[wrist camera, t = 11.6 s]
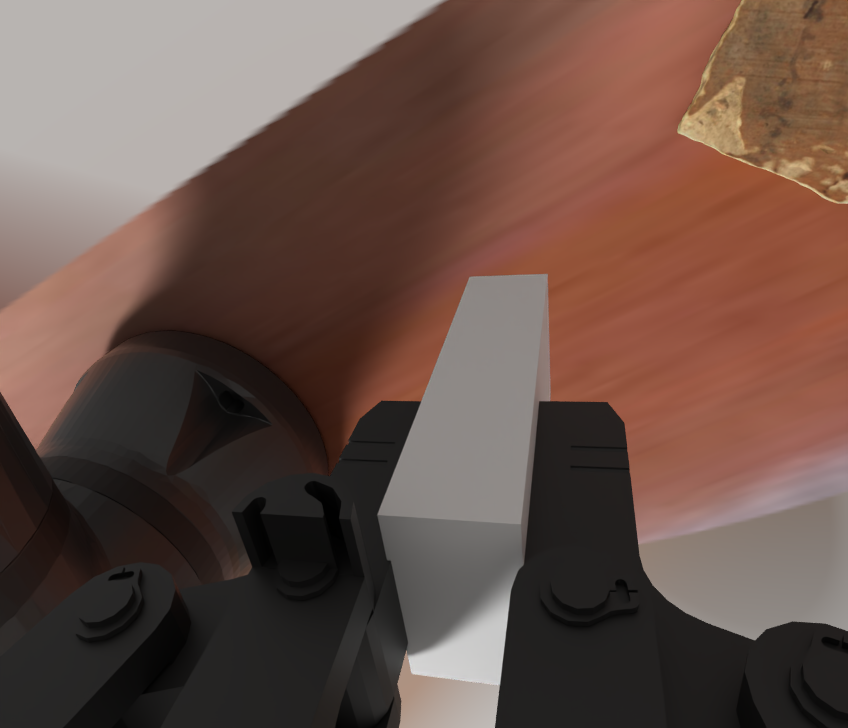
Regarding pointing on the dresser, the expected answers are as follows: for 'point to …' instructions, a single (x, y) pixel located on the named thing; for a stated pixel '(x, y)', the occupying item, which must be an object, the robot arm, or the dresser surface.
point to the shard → (780, 93)
